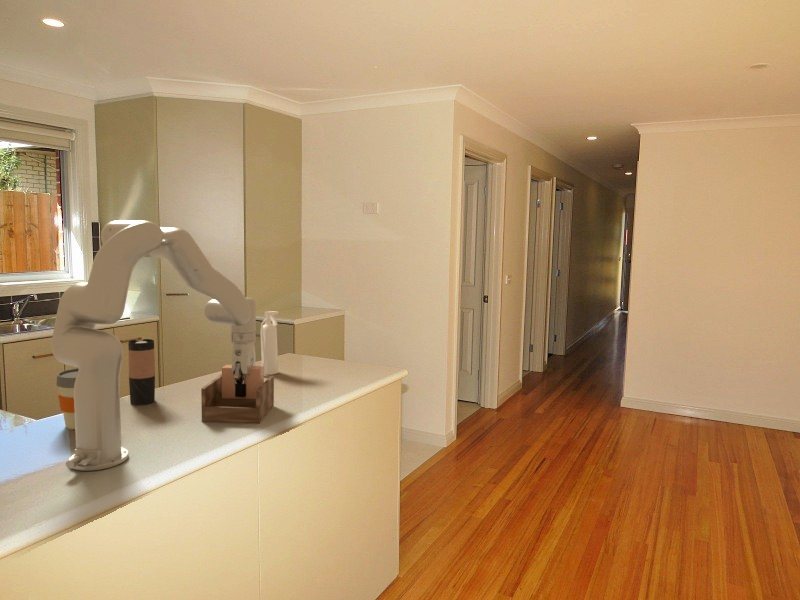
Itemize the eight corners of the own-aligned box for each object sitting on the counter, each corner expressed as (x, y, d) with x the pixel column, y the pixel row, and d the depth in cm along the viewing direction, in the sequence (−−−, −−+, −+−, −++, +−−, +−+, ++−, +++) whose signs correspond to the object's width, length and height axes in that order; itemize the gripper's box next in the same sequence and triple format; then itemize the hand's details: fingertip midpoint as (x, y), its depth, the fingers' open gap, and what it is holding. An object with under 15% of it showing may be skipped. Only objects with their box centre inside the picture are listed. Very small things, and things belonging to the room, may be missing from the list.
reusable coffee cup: (119, 420, 159) (117, 369, 158) (83, 434, 147) (81, 380, 146) (84, 414, 163) (83, 365, 161) (46, 428, 151) (44, 375, 149)
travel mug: (145, 406, 172) (144, 344, 170) (124, 404, 174) (122, 342, 172) (160, 399, 180) (159, 339, 178) (139, 397, 181) (138, 338, 179)
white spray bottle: (251, 375, 214) (251, 312, 211) (270, 369, 225) (270, 309, 222) (265, 377, 212) (266, 314, 209) (284, 371, 223) (284, 310, 220)
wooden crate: (259, 423, 160) (259, 390, 159) (201, 421, 160) (201, 388, 159) (273, 406, 177) (273, 375, 176) (221, 404, 177) (221, 374, 176)
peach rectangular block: (260, 403, 170) (260, 369, 169) (221, 402, 170) (221, 367, 169) (263, 400, 174) (263, 366, 173) (226, 398, 174) (226, 364, 173)
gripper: (247, 342, 161) (246, 402, 163) (262, 333, 178) (261, 387, 180) (222, 341, 162) (222, 401, 164) (239, 332, 178) (239, 386, 180)
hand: (242, 393), depth 172 cm, fingers closed on peach rectangular block, 4 cm apart
